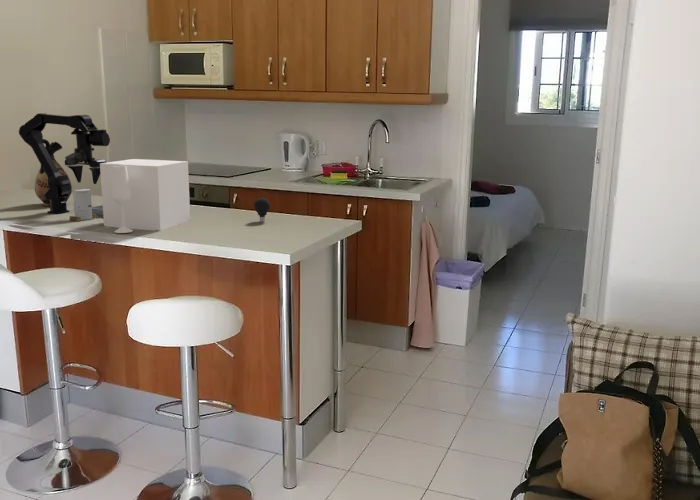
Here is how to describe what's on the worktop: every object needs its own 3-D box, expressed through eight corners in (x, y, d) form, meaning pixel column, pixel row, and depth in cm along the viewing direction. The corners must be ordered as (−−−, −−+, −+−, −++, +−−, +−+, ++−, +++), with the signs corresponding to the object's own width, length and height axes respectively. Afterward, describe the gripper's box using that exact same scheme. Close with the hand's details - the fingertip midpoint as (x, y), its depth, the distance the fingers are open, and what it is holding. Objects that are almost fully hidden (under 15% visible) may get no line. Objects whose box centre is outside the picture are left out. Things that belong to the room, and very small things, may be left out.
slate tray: (87, 214, 284) (86, 207, 283) (112, 210, 296) (112, 203, 295) (111, 217, 278) (110, 210, 277) (136, 212, 290) (136, 206, 289)
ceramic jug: (60, 201, 318) (55, 137, 312) (79, 204, 310) (74, 138, 303) (25, 205, 305) (19, 138, 298) (44, 209, 296) (38, 140, 290)
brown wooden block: (69, 220, 271) (69, 216, 270) (88, 216, 279) (88, 213, 279) (78, 221, 269) (78, 217, 268) (97, 217, 277) (97, 214, 277)
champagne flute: (113, 230, 253) (109, 165, 247) (132, 229, 255) (128, 165, 250) (115, 233, 247) (110, 167, 241) (134, 232, 249) (130, 167, 244)
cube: (190, 222, 273) (187, 161, 268) (160, 231, 253) (157, 166, 248) (137, 218, 280) (133, 158, 275) (104, 227, 260) (99, 163, 255)
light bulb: (273, 221, 273) (272, 197, 271) (266, 224, 267) (265, 199, 265) (258, 220, 275) (258, 196, 273) (251, 223, 269) (251, 198, 267)
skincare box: (77, 220, 270) (75, 190, 268) (74, 219, 274) (71, 189, 271) (93, 219, 274) (91, 189, 271) (89, 217, 277) (87, 188, 275)
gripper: (52, 145, 277) (55, 183, 280) (84, 147, 269) (87, 186, 272) (74, 144, 287) (77, 181, 290) (106, 146, 278) (108, 184, 282)
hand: (87, 183), depth 283 cm, fingers open, 9 cm apart
